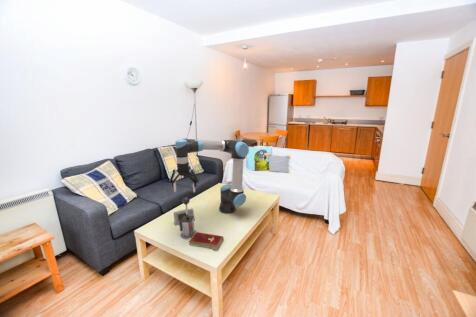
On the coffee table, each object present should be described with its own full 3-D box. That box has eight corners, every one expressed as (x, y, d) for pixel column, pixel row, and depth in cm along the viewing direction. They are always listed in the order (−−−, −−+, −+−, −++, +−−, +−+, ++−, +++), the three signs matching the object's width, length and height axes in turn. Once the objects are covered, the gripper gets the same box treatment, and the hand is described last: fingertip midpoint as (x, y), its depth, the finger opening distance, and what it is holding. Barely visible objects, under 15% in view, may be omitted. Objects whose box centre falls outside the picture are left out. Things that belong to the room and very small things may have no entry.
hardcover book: (196, 236, 162) (196, 231, 161) (223, 240, 156) (223, 235, 155) (188, 246, 151) (188, 241, 149) (217, 251, 145) (217, 246, 144)
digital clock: (174, 226, 174) (173, 214, 171) (174, 220, 182) (173, 209, 179) (194, 224, 177) (194, 212, 174) (194, 218, 186) (193, 207, 183)
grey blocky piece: (195, 230, 166) (194, 215, 163) (192, 237, 158) (191, 221, 155) (182, 230, 167) (181, 215, 163) (179, 237, 159) (177, 221, 155)
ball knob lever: (191, 220, 162) (190, 196, 157) (190, 223, 157) (188, 199, 152) (185, 220, 162) (183, 196, 157) (183, 223, 157) (181, 199, 152)
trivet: (198, 230, 168) (198, 229, 168) (194, 240, 156) (194, 239, 156) (183, 230, 169) (183, 229, 168) (178, 239, 157) (178, 238, 157)
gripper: (201, 161, 151) (203, 189, 156) (166, 160, 152) (169, 189, 158) (199, 164, 144) (201, 193, 149) (162, 163, 145) (165, 193, 150)
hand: (184, 191), depth 153 cm, fingers open, 13 cm apart
